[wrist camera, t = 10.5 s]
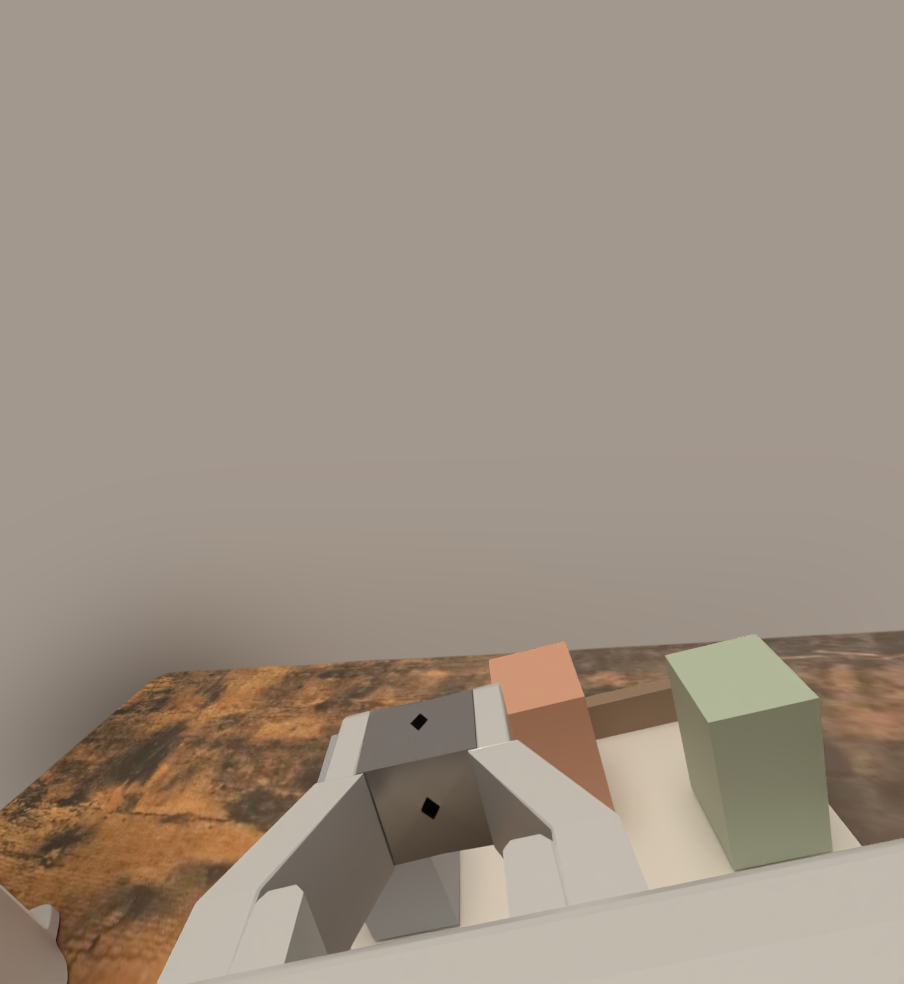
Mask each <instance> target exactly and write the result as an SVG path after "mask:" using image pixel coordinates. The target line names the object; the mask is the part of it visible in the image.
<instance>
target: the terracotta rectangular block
mask: <svg viewBox="0 0 904 984" xmlns="http://www.w3.org/2000/svg"><path fill="white" fill-rule="evenodd" d="M489 664H490V674H491V684H493V683H497V682H498V683H499V684H500V686H501V689H502V693H503V697H504V701H505V705H506V709H507V713H508V717H509V721H510V725H511V729H512V733H513V737H514V740H519V741H520V742H522V743H523V744H524V745H526V746H527V747H528V748H530V749H531V750H532V751H534V752H535V753H536V754H538V755H539V756H540V757H542V758H543V759H544V760H546V761H547V762H548V763H550V764H551V765H552V766H554V767H555V768H556V769H558V770H559V771H560V772H562V773H563V774H564V775H566V776H567V777H568V778H570V779H571V780H573V781H574V782H575V783H577V784H578V785H579V786H581V787H582V788H583V789H585V790H586V791H587V792H589V793H590V794H591V795H593V796H594V797H595V798H597V799H598V800H599V801H601V802H602V803H603V804H605V805H606V806H607V807H609V808H610V809H611V810H613V811H614V812H615V810H614V806H613V802H612V798H611V795H610V791H609V787H608V783H607V780H606V776H605V772H604V768H603V765H602V761H601V757H600V753H599V750H598V746H597V742H596V738H595V734H594V731H593V727H592V723H591V719H590V716H589V712H588V708H587V704H586V701H585V697H584V694H583V691H582V688H581V685H580V683H579V680H578V677H577V674H576V671H575V668H574V666H573V663H572V660H571V657H570V654H569V651H568V649H567V646H566V643H565V641H564V642H559V643H555V644H552V645H547V646H544V647H540V648H535V649H531V650H528V651H523V652H519V653H515V654H511V655H507V656H503V657H499V658H495V659H491V660H489Z"/></svg>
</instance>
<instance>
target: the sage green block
mask: <svg viewBox="0 0 904 984" xmlns="http://www.w3.org/2000/svg"><path fill="white" fill-rule="evenodd" d="M665 658H666V663H667V669H668V674H669V679H670V684H671V689H672V694H673V699H674V704H675V709H676V714H677V719H678V724H679V729H680V734H681V739H682V744H683V749H684V754H685V759H686V764H687V769H688V774H689V779H690V784H691V788H692V790H693V792H694V794H695V795H696V797H697V799H698V801H699V803H700V805H701V807H702V809H703V811H704V813H705V815H706V817H707V819H708V821H709V823H710V824H711V826H712V828H713V830H714V832H715V834H716V836H717V838H718V840H719V842H720V844H721V846H722V848H723V850H724V852H725V853H726V855H727V857H728V859H729V861H730V863H731V865H732V867H733V869H734V870H738V869H744V868H749V867H754V866H759V865H764V864H769V863H774V862H779V861H784V860H789V859H794V858H800V857H805V856H810V855H815V854H820V853H825V852H830V851H833V850H832V839H831V828H830V816H829V805H828V794H827V782H826V771H825V760H824V749H823V737H822V726H821V715H820V703H819V697H818V696H817V695H816V694H815V693H814V692H813V691H812V690H811V689H810V688H809V687H808V686H807V685H806V684H805V683H804V682H803V681H802V680H801V679H800V678H799V677H798V676H797V675H796V674H795V673H794V672H793V671H792V670H791V669H790V668H789V667H788V666H787V665H786V664H785V663H784V662H783V661H782V660H781V659H780V658H779V657H778V656H777V655H776V654H775V653H774V652H773V651H772V650H771V649H770V648H769V647H768V646H767V645H766V644H765V643H764V642H763V641H762V640H761V639H760V638H759V637H758V636H757V635H756V634H753V635H748V636H744V637H740V638H736V639H732V640H727V641H723V642H719V643H715V644H711V645H707V646H703V647H698V648H694V649H690V650H686V651H682V652H678V653H674V654H669V655H665Z"/></svg>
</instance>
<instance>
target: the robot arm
mask: <svg viewBox="0 0 904 984" xmlns="http://www.w3.org/2000/svg"><path fill="white" fill-rule="evenodd" d="M490 845H494V847H495V849H496V850H497V851H498V853H499V854H500V855H501V856H502V858H503V859H504V868H505V878H506V887H507V897H508V907H509V917H510V918H506V919H501V920H496V921H491V922H486V923H481V924H476V925H471V926H466V927H461V928H456V929H451V930H447V931H442V932H437V933H432V934H427V935H422V936H417V937H412V938H407V939H402V940H397V941H393V942H388V943H383V944H378V945H373V946H368V947H363V948H358V949H353V950H349V949H350V948H351V946H352V944H353V942H354V941H355V939H356V937H357V935H358V933H359V932H360V930H361V928H362V926H363V925H364V923H365V921H366V919H367V918H368V916H369V914H370V912H371V910H372V909H373V907H374V905H375V903H376V902H377V900H378V898H379V896H380V894H381V893H382V891H383V889H384V887H385V886H386V884H387V882H388V880H389V878H390V877H391V875H392V873H393V871H394V870H395V868H394V866H395V865H399V864H403V863H407V862H412V861H416V860H420V859H424V858H428V857H432V856H436V855H440V854H445V853H451V852H456V851H462V850H468V849H473V848H479V847H485V846H490ZM58 926H59V912H58V911H57V910H56V909H55V908H54V907H52V906H51V905H50V904H44V905H41V906H38V907H36V908H33V909H31V910H27V909H26V908H25V907H24V906H23V905H22V904H21V903H20V902H19V901H18V900H17V899H16V898H15V897H13V896H12V895H11V894H10V893H9V892H8V891H7V890H6V889H5V888H4V887H3V886H1V885H0V984H67V979H68V971H67V964H66V960H65V958H64V956H63V954H62V953H61V951H60V950H59V948H58V946H57V943H56V936H57V931H58ZM157 984H904V838H902V839H897V840H892V841H887V842H882V843H877V844H872V845H867V846H862V847H857V848H852V849H847V850H842V851H837V852H832V853H827V854H822V855H818V856H813V857H808V858H803V859H798V860H793V861H788V862H783V863H778V864H773V865H768V866H763V867H758V868H754V869H749V870H744V871H739V872H734V873H730V874H725V875H720V876H715V877H710V878H706V879H701V880H696V881H691V882H686V883H681V884H676V885H671V886H666V887H661V888H656V889H651V890H649V889H648V886H647V884H646V881H645V879H644V876H643V874H642V871H641V869H640V866H639V864H638V861H637V859H636V856H635V854H634V851H633V849H632V846H631V844H630V841H629V839H628V836H627V834H626V831H625V829H624V826H623V824H622V821H621V819H620V816H619V815H618V814H617V813H615V812H614V811H613V810H611V809H610V808H609V807H607V806H606V805H605V804H603V803H602V802H601V801H599V800H598V799H597V798H595V797H594V796H593V795H591V794H590V793H589V792H587V791H586V790H585V789H583V788H582V787H581V786H579V785H578V784H577V783H575V782H574V781H573V780H571V779H570V778H568V777H567V776H566V775H564V774H563V773H562V772H560V771H559V770H558V769H556V768H555V767H554V766H552V765H551V764H550V763H548V762H547V761H546V760H544V759H543V758H542V757H540V756H539V755H538V754H536V753H535V752H534V751H532V750H531V749H530V748H528V747H527V746H526V745H524V744H523V743H522V742H520V741H519V740H514V737H513V733H512V729H511V725H510V721H509V717H508V713H507V709H506V705H505V701H504V697H503V693H502V689H501V686H500V684H499V683H498V682H497V683H493V684H489V685H485V686H482V687H478V688H474V689H473V690H472V689H471V690H467V691H463V692H459V693H455V694H451V695H447V696H443V697H439V698H435V699H431V700H427V701H419V702H414V703H409V704H404V705H399V706H394V707H389V708H384V709H379V710H374V711H372V712H371V711H368V712H364V713H359V714H355V715H351V716H347V717H346V718H345V719H344V720H343V721H342V725H341V728H340V731H339V734H338V737H337V740H336V744H335V747H334V750H333V753H332V756H331V759H330V763H329V766H328V769H327V772H326V775H325V779H324V782H321V783H316V784H315V785H314V786H313V787H312V788H311V789H310V790H309V791H308V792H307V793H306V794H305V795H304V796H303V797H302V798H301V799H300V800H299V801H298V802H297V803H296V804H295V805H294V806H293V807H292V808H291V809H290V810H289V811H288V812H287V813H286V814H285V815H284V816H283V817H282V818H281V819H280V820H279V821H278V822H277V823H276V824H275V825H274V826H272V827H271V828H270V829H269V830H268V831H267V832H266V833H265V834H264V835H263V836H262V837H261V838H260V839H259V840H258V841H257V842H256V843H255V844H254V845H253V846H252V847H251V848H250V849H249V850H248V851H247V852H246V853H245V854H244V855H243V856H242V857H241V858H240V859H239V860H238V861H237V862H236V863H235V864H234V865H233V866H232V867H231V868H230V869H229V870H228V871H227V872H226V873H225V874H224V875H223V876H222V877H221V878H220V879H219V880H218V881H217V882H216V883H215V884H214V885H213V886H212V887H211V888H210V889H209V890H208V891H207V892H206V893H205V894H204V895H203V896H202V897H201V898H200V899H199V900H198V901H197V902H196V904H195V906H194V908H193V910H192V912H191V914H190V916H189V918H188V920H187V922H186V924H185V926H184V928H183V930H182V932H181V934H180V936H179V938H178V941H177V943H176V945H175V947H174V949H173V951H172V953H171V955H170V957H169V959H168V961H167V963H166V965H165V967H164V969H163V971H162V973H161V975H160V977H159V979H158V982H157Z"/></svg>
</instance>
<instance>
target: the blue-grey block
mask: <svg viewBox="0 0 904 984" xmlns="http://www.w3.org/2000/svg"><path fill="white" fill-rule="evenodd" d="M337 737H338V734H337V735H333V736H332V737H331V740H330V744H329V747H328V750H327V753H326V757H325V760H324V763H323V766H322V770H321V773H320V776H319V779H318V783H321V782H324V779H325V775H326V772H327V769H328V766H329V763H330V759H331V756H332V753H333V750H334V747H335V744H336V740H337ZM394 868H395V870H394V871H393V873H392V875H391V877H390V878H389V880H388V882H387V884H386V886H385V887H384V889H383V891H382V893H381V894H380V896H379V898H378V900H377V902H376V903H375V905H374V907H373V909H372V910H371V912H370V914H369V916H368V918H367V919H366V921H365V923H366V925H367V927H368V929H369V931H370V933H371V935H372V937H373V939H374V941H377V940H382V939H387V938H392V937H397V936H403V935H408V934H413V933H418V932H423V931H428V930H433V929H438V928H443V927H448V926H453V925H459V924H460V880H459V851H456V852H451V853H445V854H440V855H436V856H432V857H428V858H424V859H420V860H416V861H412V862H407V863H403V864H399V865H395V866H394Z"/></svg>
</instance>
